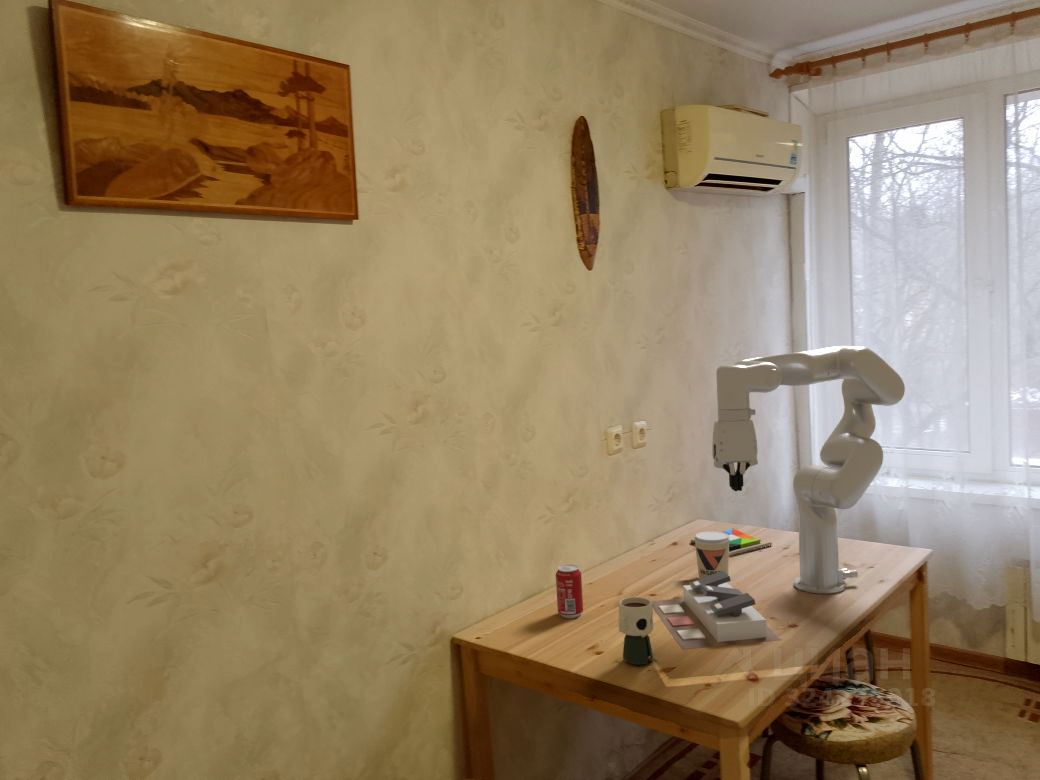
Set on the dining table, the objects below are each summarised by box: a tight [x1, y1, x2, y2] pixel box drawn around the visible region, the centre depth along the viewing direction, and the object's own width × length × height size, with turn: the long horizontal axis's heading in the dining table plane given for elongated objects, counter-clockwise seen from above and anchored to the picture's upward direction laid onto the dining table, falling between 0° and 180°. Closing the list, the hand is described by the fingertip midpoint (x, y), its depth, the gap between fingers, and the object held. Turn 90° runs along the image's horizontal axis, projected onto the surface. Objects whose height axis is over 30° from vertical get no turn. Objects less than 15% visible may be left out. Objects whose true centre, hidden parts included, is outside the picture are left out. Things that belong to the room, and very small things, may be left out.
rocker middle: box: [701, 585, 744, 601], centre depth 192 cm, size 9×4×3 cm, turn 95°
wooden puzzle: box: [690, 528, 773, 557], centre depth 254 cm, size 18×19×4 cm
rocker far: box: [688, 571, 731, 593], centre depth 200 cm, size 9×4×3 cm, turn 95°
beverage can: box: [555, 564, 584, 619], centre depth 203 cm, size 6×6×12 cm
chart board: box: [651, 597, 782, 650], centre depth 193 cm, size 22×30×2 cm
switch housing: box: [682, 582, 767, 642], centre depth 193 cm, size 11×26×4 cm, turn 5°
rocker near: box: [710, 592, 757, 617], centre depth 184 cm, size 9×4×3 cm, turn 95°
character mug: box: [617, 596, 654, 666], centre depth 174 cm, size 11×7×13 cm, turn 134°
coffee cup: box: [693, 530, 730, 579], centre depth 224 cm, size 9×9×12 cm
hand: (736, 489), depth 201 cm, fingers closed
